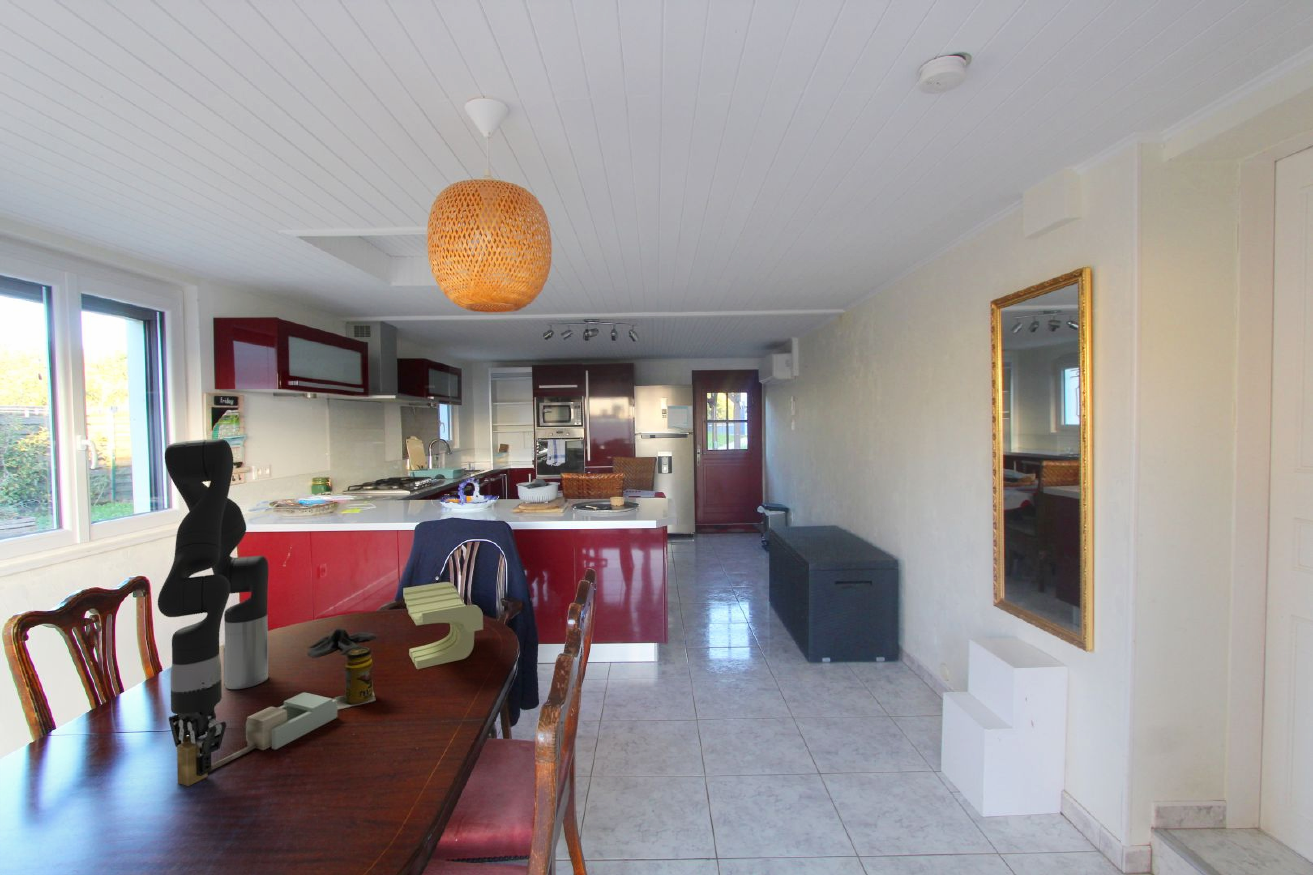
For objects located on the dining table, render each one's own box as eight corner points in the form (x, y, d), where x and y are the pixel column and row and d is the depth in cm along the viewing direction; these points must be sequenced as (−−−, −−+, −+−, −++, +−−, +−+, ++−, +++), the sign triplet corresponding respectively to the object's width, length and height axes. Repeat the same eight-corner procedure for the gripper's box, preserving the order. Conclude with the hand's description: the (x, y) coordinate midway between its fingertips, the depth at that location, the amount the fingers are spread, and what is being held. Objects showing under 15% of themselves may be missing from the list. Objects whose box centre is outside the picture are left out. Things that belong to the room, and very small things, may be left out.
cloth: (380, 633, 186) (380, 614, 186) (370, 653, 169) (370, 633, 168) (304, 641, 179) (303, 622, 179) (285, 664, 162) (285, 642, 162)
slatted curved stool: (483, 665, 157) (482, 602, 157) (423, 680, 148) (422, 613, 148) (456, 634, 182) (456, 580, 182) (404, 645, 174) (403, 588, 173)
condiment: (376, 700, 137) (375, 652, 137) (336, 710, 132) (335, 660, 132) (372, 689, 143) (371, 643, 143) (334, 698, 138) (333, 650, 138)
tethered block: (174, 781, 105) (174, 744, 105) (271, 733, 122) (270, 701, 122) (191, 787, 103) (190, 749, 103) (287, 737, 120) (286, 705, 120)
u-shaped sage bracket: (246, 740, 120) (245, 718, 119) (309, 710, 133) (308, 689, 133) (275, 749, 116) (275, 726, 116) (337, 717, 129) (337, 696, 129)
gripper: (150, 683, 106) (152, 774, 106) (197, 695, 101) (198, 791, 101) (195, 668, 113) (196, 753, 113) (241, 678, 108) (242, 768, 108)
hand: (197, 770), depth 107 cm, fingers closed on tethered block, 3 cm apart
